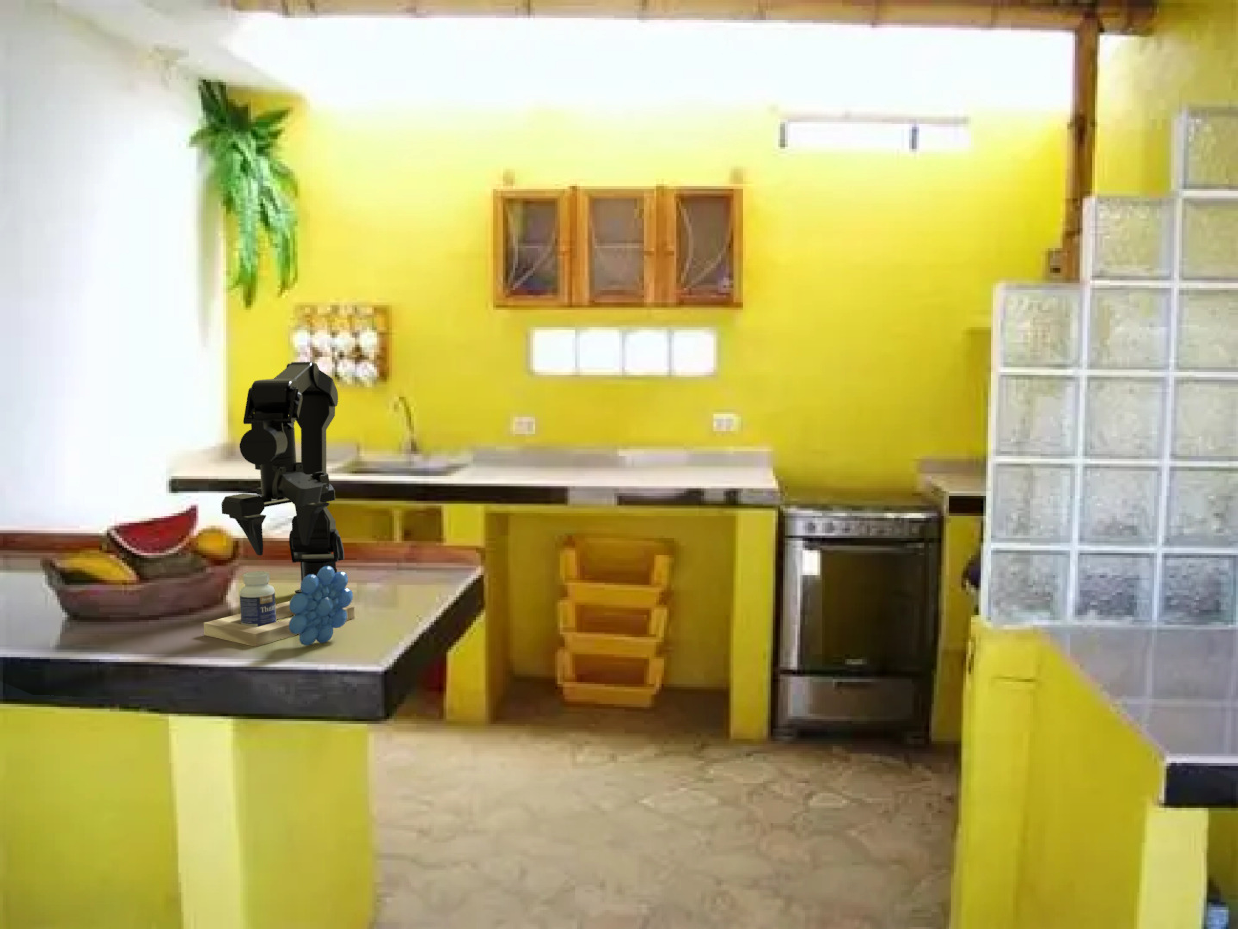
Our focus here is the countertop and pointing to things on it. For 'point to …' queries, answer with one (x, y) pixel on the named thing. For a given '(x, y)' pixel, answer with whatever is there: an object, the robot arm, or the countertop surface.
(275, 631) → the wooden frame
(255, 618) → the pill bottle
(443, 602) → the countertop surface
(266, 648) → the countertop surface
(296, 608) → the blue ball flower
